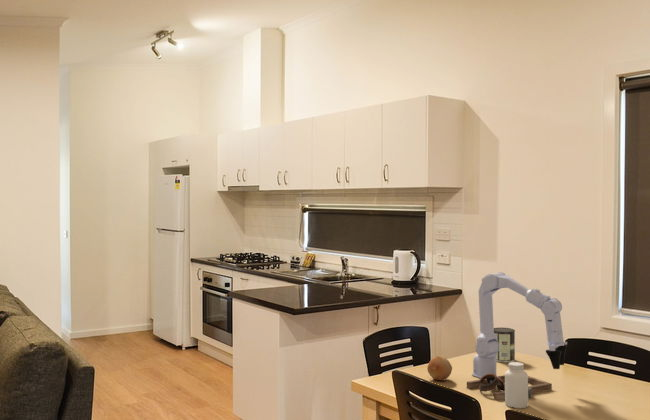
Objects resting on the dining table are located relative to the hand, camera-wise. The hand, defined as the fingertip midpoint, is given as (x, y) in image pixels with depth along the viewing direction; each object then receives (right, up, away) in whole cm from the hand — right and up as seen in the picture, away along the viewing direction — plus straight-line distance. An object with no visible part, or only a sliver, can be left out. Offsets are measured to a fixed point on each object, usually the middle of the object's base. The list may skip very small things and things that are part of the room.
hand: (558, 366), depth 233 cm
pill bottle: (-20, -11, -13) cm, 26 cm away
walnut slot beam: (-18, -10, +6) cm, 21 cm away
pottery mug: (-25, -11, +2) cm, 27 cm away
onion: (-42, -10, +19) cm, 47 cm away
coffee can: (-6, -10, +51) cm, 52 cm away
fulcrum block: (-13, -10, -3) cm, 17 cm away
